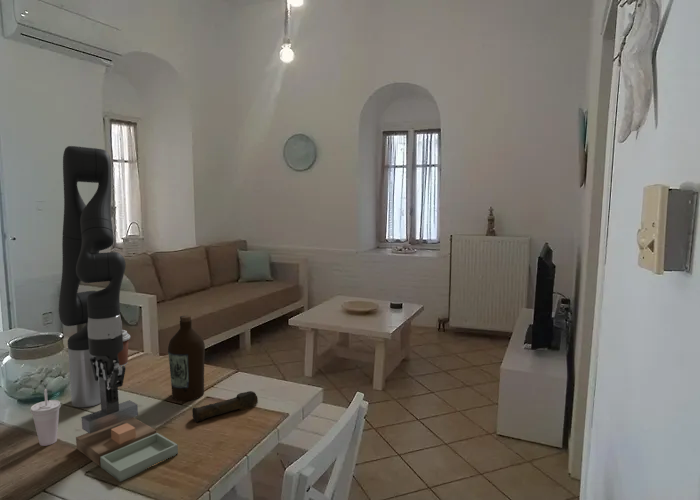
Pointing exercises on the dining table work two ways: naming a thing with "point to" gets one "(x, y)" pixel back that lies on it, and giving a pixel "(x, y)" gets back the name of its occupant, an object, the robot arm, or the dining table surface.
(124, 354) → the coffee cup
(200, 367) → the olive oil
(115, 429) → the tile
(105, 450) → the brown slab
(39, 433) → the smoothie
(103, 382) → the scraper
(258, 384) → the dining table surface
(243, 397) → the hand tool
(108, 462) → the box
